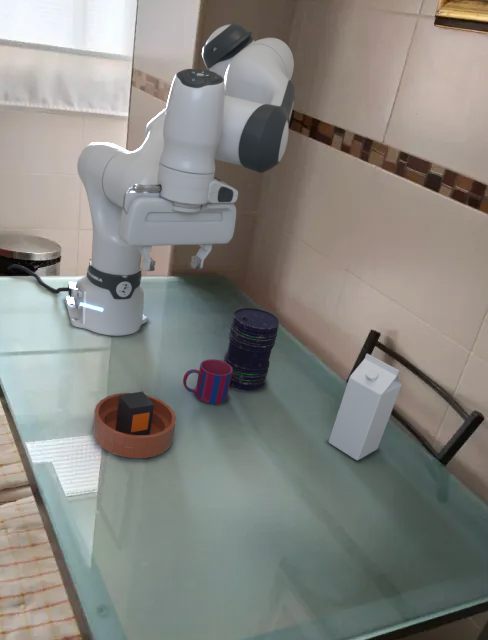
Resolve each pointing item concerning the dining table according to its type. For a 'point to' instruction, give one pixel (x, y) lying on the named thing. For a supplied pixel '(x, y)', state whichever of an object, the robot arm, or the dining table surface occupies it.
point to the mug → (211, 381)
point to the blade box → (134, 414)
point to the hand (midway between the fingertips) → (172, 268)
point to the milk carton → (365, 408)
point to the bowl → (126, 442)
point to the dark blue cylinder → (250, 347)
